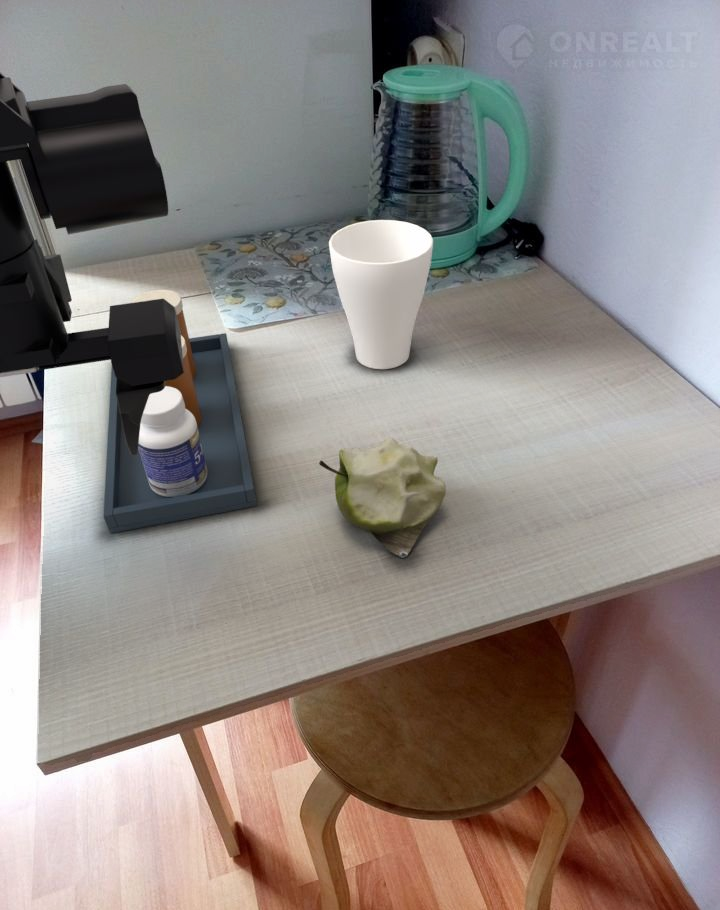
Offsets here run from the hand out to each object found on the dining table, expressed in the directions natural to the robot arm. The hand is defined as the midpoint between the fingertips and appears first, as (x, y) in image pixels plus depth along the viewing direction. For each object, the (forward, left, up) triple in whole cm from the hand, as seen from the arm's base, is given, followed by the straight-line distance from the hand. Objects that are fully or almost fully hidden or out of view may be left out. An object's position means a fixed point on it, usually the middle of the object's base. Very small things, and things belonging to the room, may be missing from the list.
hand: (66, 462), depth 49 cm
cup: (+29, +25, -12) cm, 40 cm away
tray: (+6, +18, -12) cm, 22 cm away
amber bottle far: (+6, +26, -11) cm, 29 cm away
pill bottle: (+6, +9, -12) cm, 16 cm away
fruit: (+23, +1, -12) cm, 26 cm away
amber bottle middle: (+6, +18, -11) cm, 22 cm away
